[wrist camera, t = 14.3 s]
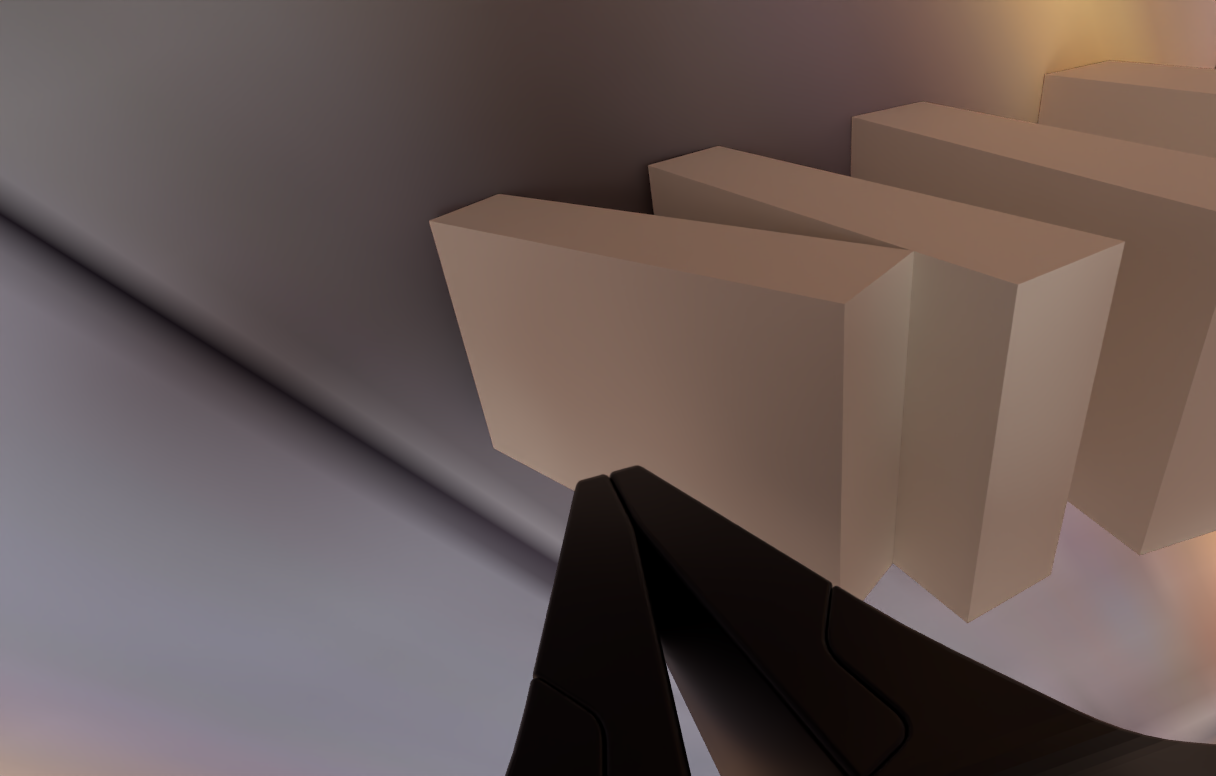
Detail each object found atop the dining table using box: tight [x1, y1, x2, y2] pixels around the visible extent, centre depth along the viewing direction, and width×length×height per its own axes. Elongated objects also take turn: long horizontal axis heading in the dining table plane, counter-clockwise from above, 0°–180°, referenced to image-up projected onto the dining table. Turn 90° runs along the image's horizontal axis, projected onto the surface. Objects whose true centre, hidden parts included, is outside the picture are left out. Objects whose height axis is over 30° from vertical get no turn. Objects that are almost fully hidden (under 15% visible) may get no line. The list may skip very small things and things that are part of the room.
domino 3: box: [851, 101, 1216, 555], centre depth 13 cm, size 5×2×8 cm, turn 9°
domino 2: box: [648, 146, 1125, 623], centre depth 12 cm, size 5×2×8 cm, turn 9°
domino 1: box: [429, 194, 914, 601], centre depth 12 cm, size 5×2×8 cm
